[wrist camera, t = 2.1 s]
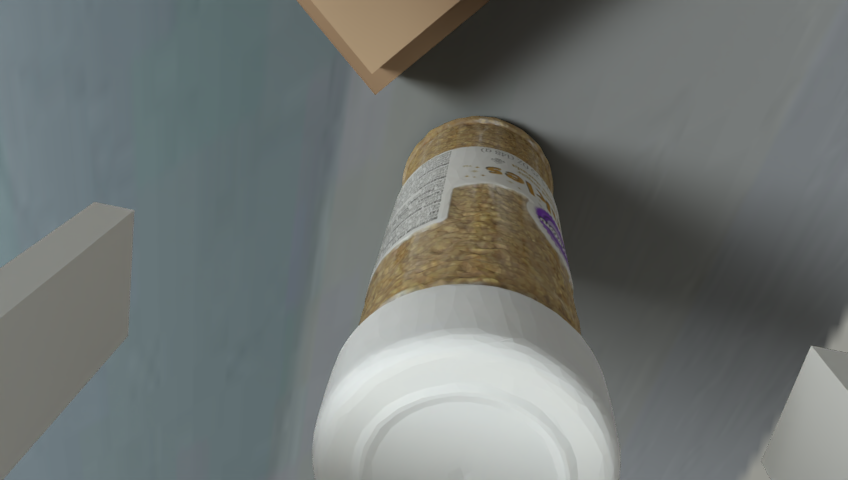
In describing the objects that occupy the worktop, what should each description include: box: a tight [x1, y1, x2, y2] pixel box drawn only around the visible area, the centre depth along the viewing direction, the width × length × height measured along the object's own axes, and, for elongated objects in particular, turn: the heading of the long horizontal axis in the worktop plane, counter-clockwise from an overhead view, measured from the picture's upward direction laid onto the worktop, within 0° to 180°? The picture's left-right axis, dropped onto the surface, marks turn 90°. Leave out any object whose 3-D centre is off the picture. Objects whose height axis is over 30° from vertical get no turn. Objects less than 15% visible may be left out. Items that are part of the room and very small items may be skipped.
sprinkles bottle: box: [312, 116, 621, 480], centre depth 17 cm, size 5×5×14 cm
